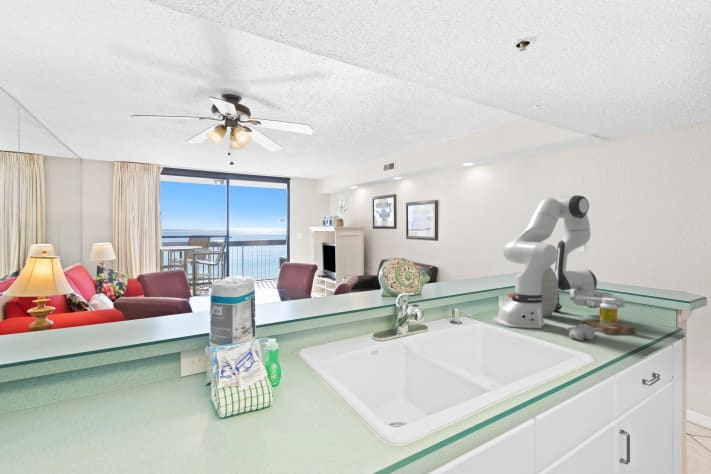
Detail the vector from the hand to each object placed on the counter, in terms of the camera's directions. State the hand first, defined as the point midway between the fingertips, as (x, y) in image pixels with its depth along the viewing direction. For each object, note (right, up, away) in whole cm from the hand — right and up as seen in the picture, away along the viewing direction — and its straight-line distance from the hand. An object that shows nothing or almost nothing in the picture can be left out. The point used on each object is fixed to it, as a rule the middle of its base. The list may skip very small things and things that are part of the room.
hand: (606, 305), depth 148 cm
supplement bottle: (0, -8, -1) cm, 8 cm away
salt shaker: (-5, -10, +29) cm, 31 cm away
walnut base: (-1, -11, -1) cm, 11 cm away
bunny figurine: (-19, -11, -12) cm, 25 cm away
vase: (-17, -10, +21) cm, 29 cm away
